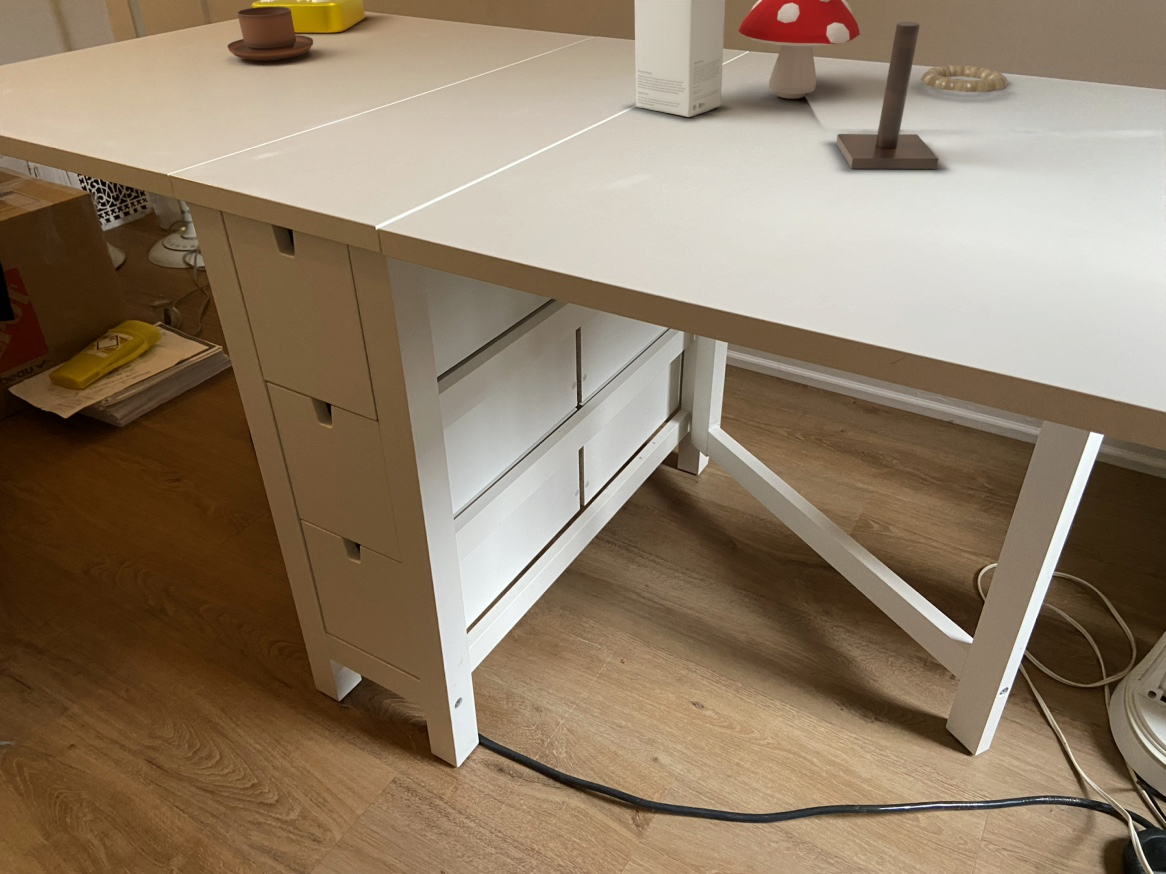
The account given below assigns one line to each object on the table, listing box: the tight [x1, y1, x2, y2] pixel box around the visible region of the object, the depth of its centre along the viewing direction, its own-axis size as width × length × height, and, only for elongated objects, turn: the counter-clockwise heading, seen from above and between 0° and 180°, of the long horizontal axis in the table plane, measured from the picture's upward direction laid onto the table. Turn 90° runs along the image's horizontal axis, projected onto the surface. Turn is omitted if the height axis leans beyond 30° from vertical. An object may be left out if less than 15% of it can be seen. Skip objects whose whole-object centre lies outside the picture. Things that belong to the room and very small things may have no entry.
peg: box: [836, 21, 939, 170], centre depth 83 cm, size 8×8×12 cm
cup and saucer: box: [227, 7, 314, 62], centre depth 127 cm, size 12×12×6 cm
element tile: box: [251, 0, 366, 34], centre depth 148 cm, size 15×15×5 cm
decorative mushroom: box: [737, 0, 861, 100], centre depth 101 cm, size 14×14×15 cm
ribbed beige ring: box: [920, 65, 1008, 93], centre depth 106 cm, size 10×10×2 cm
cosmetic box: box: [634, 0, 726, 118], centre depth 98 cm, size 8×7×16 cm
